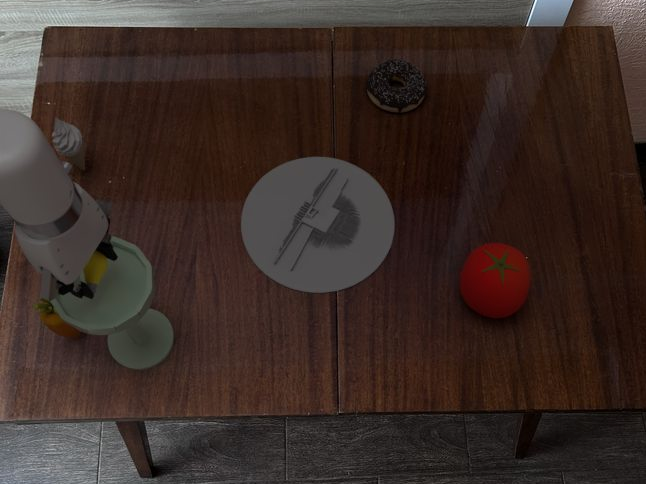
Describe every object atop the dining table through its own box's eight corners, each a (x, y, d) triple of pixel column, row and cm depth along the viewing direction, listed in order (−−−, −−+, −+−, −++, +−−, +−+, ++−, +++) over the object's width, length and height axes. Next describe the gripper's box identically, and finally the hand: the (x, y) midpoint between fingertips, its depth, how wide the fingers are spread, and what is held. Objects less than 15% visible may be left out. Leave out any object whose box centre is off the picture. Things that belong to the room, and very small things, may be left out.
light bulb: (109, 253, 95) (108, 250, 92) (104, 297, 95) (103, 295, 92) (83, 249, 94) (81, 246, 91) (77, 293, 94) (75, 292, 91)
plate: (292, 134, 133) (292, 130, 132) (421, 200, 129) (422, 197, 128) (211, 246, 124) (210, 243, 123) (346, 320, 121) (346, 318, 120)
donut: (377, 62, 139) (378, 47, 136) (433, 80, 138) (436, 66, 135) (358, 105, 136) (359, 91, 132) (416, 123, 135) (418, 110, 131)
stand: (96, 354, 117) (51, 306, 97) (129, 300, 120) (91, 242, 101) (154, 380, 116) (120, 337, 96) (185, 324, 119) (159, 271, 100)
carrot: (90, 319, 119) (59, 282, 105) (92, 346, 117) (61, 312, 103) (61, 323, 119) (26, 287, 104) (62, 350, 117) (26, 317, 103)
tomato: (440, 278, 124) (455, 240, 111) (496, 255, 126) (517, 216, 113) (473, 338, 121) (492, 307, 107) (529, 314, 123) (555, 281, 109)
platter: (35, 311, 97) (29, 305, 95) (87, 230, 101) (82, 222, 99) (124, 350, 96) (119, 344, 93) (173, 266, 100) (169, 259, 98)
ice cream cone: (103, 169, 129) (76, 117, 115) (81, 186, 127) (52, 135, 113) (85, 153, 130) (57, 99, 116) (64, 169, 128) (32, 117, 114)
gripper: (56, 132, 80) (103, 213, 97) (-29, 254, 74) (37, 317, 92) (114, 156, 79) (151, 233, 96) (32, 281, 74) (87, 339, 91)
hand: (95, 273), depth 94 cm, fingers closed on light bulb, 5 cm apart
